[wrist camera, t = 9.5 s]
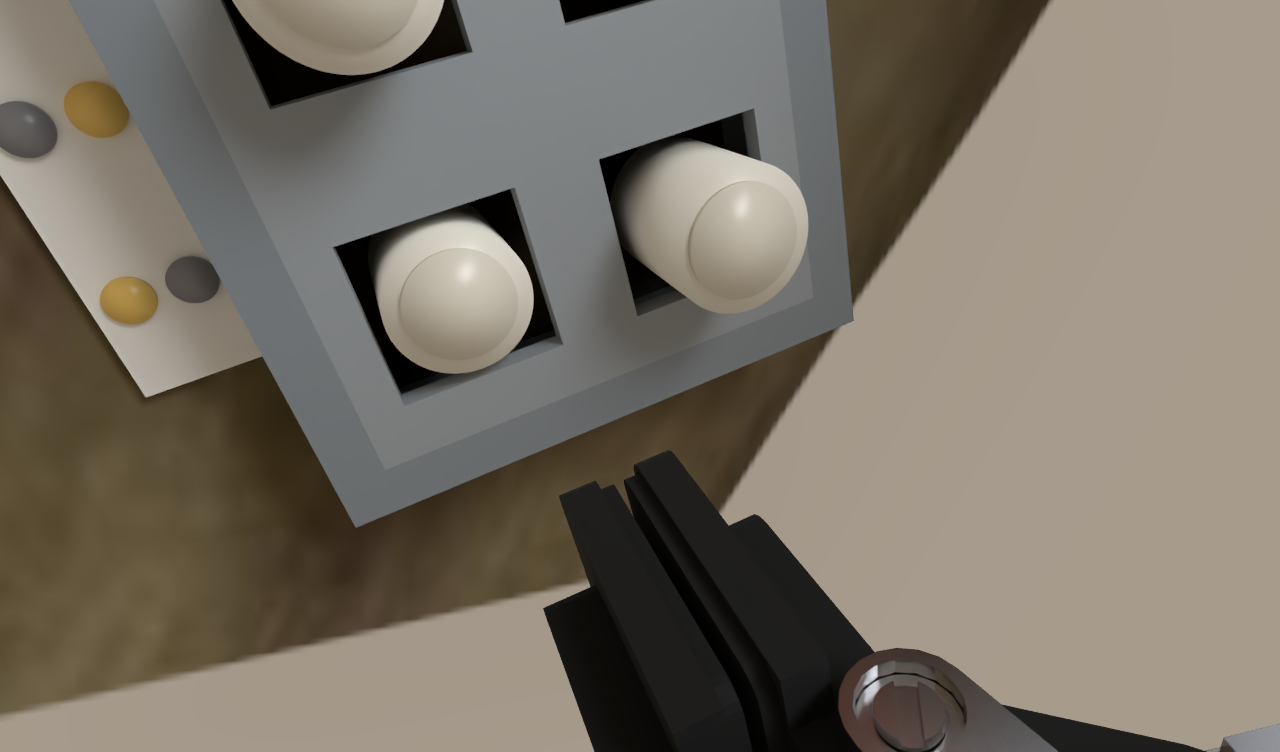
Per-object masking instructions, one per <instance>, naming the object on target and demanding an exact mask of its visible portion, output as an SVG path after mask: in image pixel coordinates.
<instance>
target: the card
mask: <svg viewBox="0 0 1280 752" xmlns="http://www.w3.org/2000/svg"><path fill="white" fill-rule="evenodd" d="M0 176H1V177H2V179H3V180H4V182H5V183H6V185H7V186H8V188H9V189H10V191H11V192H12V194H13V195H14V197H15V198H16V200H17V201H18V203H19V205H20V206H21V208H22V209H23V211H24V212H25V214H26V215H27V217H28V218H29V220H30V221H31V223H32V224H33V226H34V227H35V229H36V230H37V232H38V234H39V235H40V237H41V238H42V240H43V241H44V243H45V244H46V246H47V247H48V249H49V250H50V252H51V253H52V255H53V256H54V258H55V259H56V261H57V263H58V264H59V266H60V267H61V269H62V270H63V272H64V273H65V275H66V276H67V278H68V279H69V281H70V282H71V284H72V285H73V287H74V288H75V290H76V292H77V293H78V295H79V296H80V298H81V299H82V301H83V302H84V304H85V305H86V307H87V308H88V310H89V311H90V313H91V314H92V316H93V317H94V319H95V321H96V322H97V324H98V325H99V327H100V328H101V330H102V331H103V333H104V334H105V336H106V337H107V339H108V340H109V342H110V343H111V345H112V347H113V348H114V350H115V351H116V353H117V354H118V356H119V357H120V359H121V360H122V362H123V363H124V365H125V366H126V368H127V369H128V371H129V372H130V374H131V376H132V377H133V379H134V380H135V382H136V383H137V385H138V386H139V388H140V389H141V391H142V392H143V394H144V395H145V397H149V396H152V395H155V394H158V393H160V392H163V391H166V390H169V389H172V388H174V387H177V386H180V385H183V384H186V383H189V382H191V381H194V380H197V379H200V378H203V377H205V376H208V375H211V374H214V373H217V372H220V371H222V370H225V369H228V368H231V367H234V366H236V365H239V364H242V363H245V362H248V361H251V360H253V359H256V358H259V357H262V355H261V353H260V351H259V349H258V347H257V345H256V344H255V342H254V340H253V338H252V336H251V334H250V333H249V331H248V329H247V327H246V325H245V323H244V322H243V320H242V318H241V316H240V314H239V312H238V311H237V309H236V307H235V305H234V303H233V301H232V300H231V298H230V296H229V294H228V292H227V290H226V288H225V287H224V285H223V283H222V281H221V279H220V277H219V276H218V274H217V272H216V270H215V268H214V266H213V265H212V263H211V261H210V259H209V257H208V255H207V254H206V252H205V250H204V248H203V246H202V244H201V243H200V241H199V239H198V237H197V235H196V233H195V232H194V230H193V228H192V226H191V224H190V222H189V221H188V219H187V217H186V215H185V213H184V211H183V210H182V208H181V206H180V204H179V202H178V200H177V198H176V197H175V195H174V193H173V191H172V189H171V187H170V186H169V184H168V182H167V180H166V178H165V176H164V175H163V173H162V171H161V169H160V167H159V165H158V164H157V162H156V160H155V158H154V156H153V154H152V153H151V151H150V149H149V147H148V145H147V143H146V142H145V140H144V138H143V136H142V134H141V132H140V131H139V129H138V127H137V125H136V123H135V121H134V119H133V118H132V116H131V114H130V112H129V110H128V108H127V107H126V105H125V103H124V101H123V99H122V97H121V96H120V94H119V92H118V90H117V88H116V86H115V85H114V83H113V81H112V79H111V77H110V75H109V74H108V72H107V70H106V68H105V66H104V64H103V63H102V61H101V59H100V57H99V55H98V53H97V52H96V50H95V48H94V46H93V44H92V42H91V40H90V39H89V37H88V35H87V33H86V31H85V29H84V28H83V26H82V24H81V22H80V20H79V18H78V17H77V15H76V13H75V11H74V9H73V7H72V6H71V4H70V2H69V0H0Z"/></svg>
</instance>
